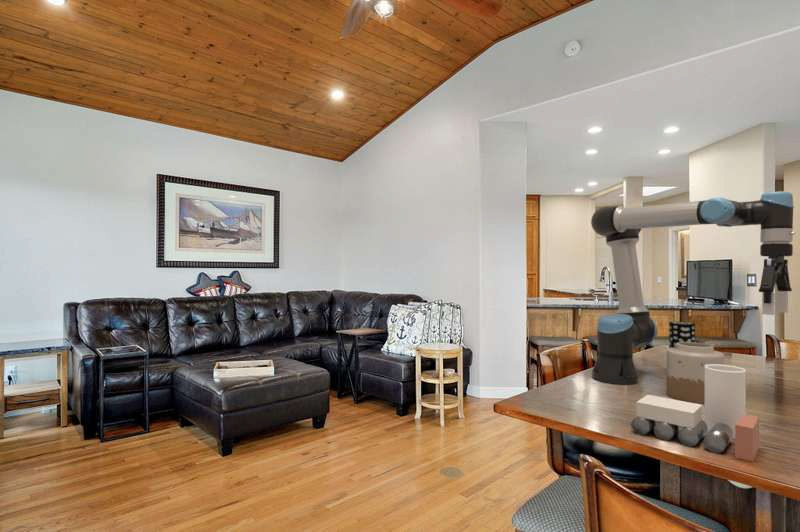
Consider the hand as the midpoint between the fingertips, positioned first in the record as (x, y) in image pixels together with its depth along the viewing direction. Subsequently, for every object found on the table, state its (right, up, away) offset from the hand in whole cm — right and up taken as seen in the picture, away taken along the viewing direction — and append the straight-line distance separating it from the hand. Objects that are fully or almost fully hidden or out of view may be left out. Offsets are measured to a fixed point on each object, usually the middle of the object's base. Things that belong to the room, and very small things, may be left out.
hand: (775, 313), depth 136 cm
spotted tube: (-7, -27, +34) cm, 44 cm away
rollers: (-47, -27, -29) cm, 61 cm away
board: (-48, -23, -27) cm, 60 cm away
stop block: (-38, -27, -38) cm, 59 cm away
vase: (-21, -27, +5) cm, 35 cm away
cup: (-34, -27, -25) cm, 50 cm away
